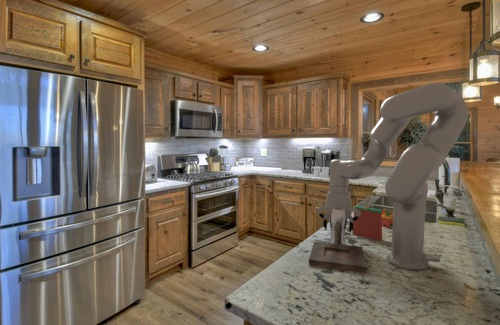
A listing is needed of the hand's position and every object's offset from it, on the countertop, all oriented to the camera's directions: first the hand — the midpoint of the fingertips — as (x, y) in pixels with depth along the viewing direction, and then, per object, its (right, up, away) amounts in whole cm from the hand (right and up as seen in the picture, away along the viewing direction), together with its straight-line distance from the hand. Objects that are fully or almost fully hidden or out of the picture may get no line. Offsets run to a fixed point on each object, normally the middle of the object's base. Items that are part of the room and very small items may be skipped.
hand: (337, 230), depth 114 cm
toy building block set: (+27, -5, +20) cm, 34 cm away
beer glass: (0, -6, 0) cm, 6 cm away
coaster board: (-5, -6, -15) cm, 17 cm away
